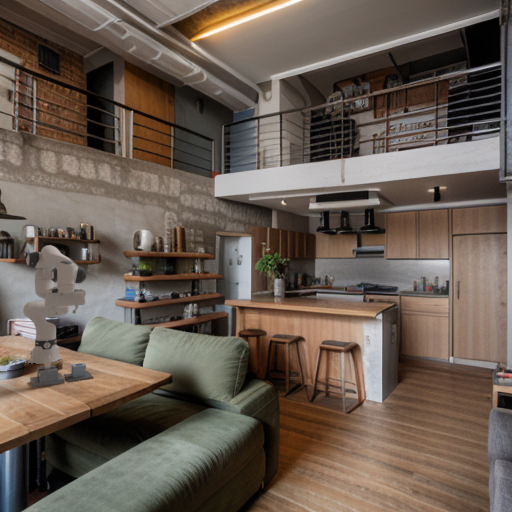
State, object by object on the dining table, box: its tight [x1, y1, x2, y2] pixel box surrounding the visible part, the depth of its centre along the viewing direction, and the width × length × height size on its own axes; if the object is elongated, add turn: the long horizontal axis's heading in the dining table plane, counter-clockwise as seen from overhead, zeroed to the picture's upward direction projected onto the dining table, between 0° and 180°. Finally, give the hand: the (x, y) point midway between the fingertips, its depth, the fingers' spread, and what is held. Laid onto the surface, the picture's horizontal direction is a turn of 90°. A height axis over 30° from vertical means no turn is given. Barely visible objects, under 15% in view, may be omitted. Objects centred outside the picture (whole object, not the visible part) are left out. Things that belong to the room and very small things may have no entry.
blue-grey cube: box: [71, 362, 87, 378], centre depth 194 cm, size 6×6×6 cm
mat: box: [63, 370, 94, 383], centre depth 194 cm, size 14×12×1 cm
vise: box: [29, 356, 66, 389], centre depth 185 cm, size 13×14×14 cm
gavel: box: [42, 360, 64, 370], centre depth 201 cm, size 21×5×10 cm
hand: (65, 313), depth 200 cm, fingers open, 8 cm apart
